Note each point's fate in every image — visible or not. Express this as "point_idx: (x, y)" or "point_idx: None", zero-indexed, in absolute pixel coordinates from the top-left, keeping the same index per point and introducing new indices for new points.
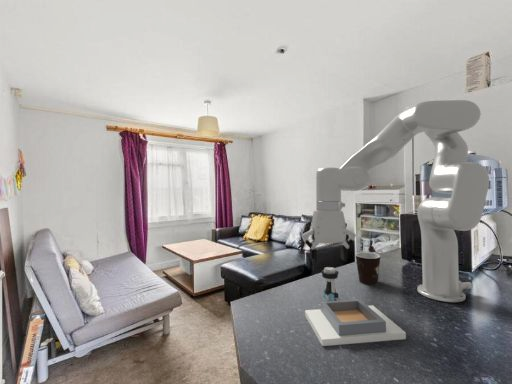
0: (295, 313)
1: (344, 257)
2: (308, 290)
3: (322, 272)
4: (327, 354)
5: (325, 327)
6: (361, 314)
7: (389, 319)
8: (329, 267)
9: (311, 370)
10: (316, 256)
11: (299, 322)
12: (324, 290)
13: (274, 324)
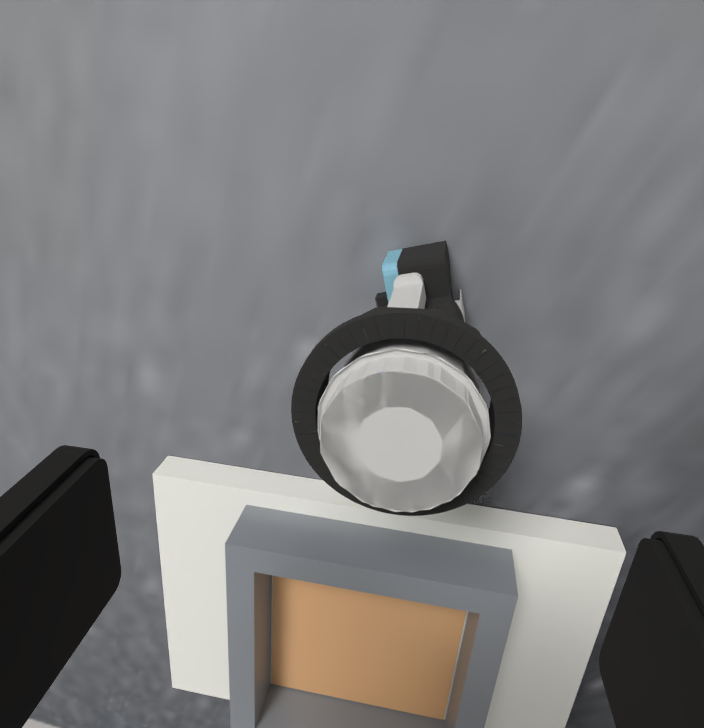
0: (118, 416)
1: (618, 726)
2: (309, 41)
3: (299, 412)
4: (189, 696)
5: (213, 635)
6: (460, 612)
7: (577, 687)
8: (424, 397)
9: (120, 724)
10: (65, 661)
11: (126, 503)
12: (383, 276)
13: (2, 482)
